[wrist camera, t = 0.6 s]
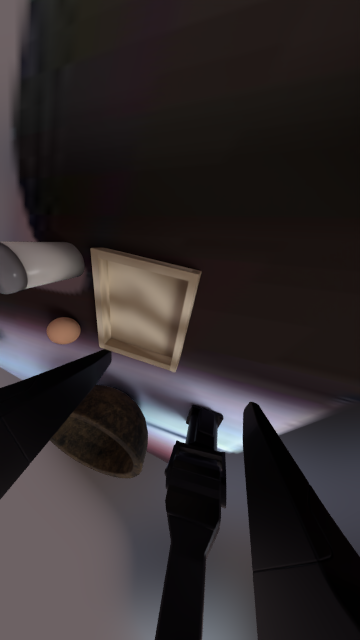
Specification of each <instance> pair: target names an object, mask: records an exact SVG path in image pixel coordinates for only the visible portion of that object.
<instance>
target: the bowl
mask: <svg viewBox="0 0 360 640" xmlns="http://www.w3.org/2000/svg"><path fill="white" fill-rule="evenodd" d="M50 441H51V442H52V443H53V444H54V445H56V446H57V447H58V448H59V449H61V450H62V451H63V452H64V453H65V454H67V455H68V456H70V457H71V458H73V459H74V460H76V461H78V462H79V463H81V464H83V465H85V466H87V467H89V468H91V469H93V470H96V471H98V472H100V473H103V474H106V475H110V476H113V477H119V478H133V477H135V476H137V475H139V474H140V472H141V470H142V466H143V462H144V458H145V454H146V450H147V444H148V431H147V426H146V421H145V417H144V415H143V413H142V411H141V410H140V408H139V406H138V405H137V404H136V403H135V402H134V400H133V399H131V398H130V397H129V396H128V395H126V394H125V393H123V392H122V391H119V390H117V389H115V388H112V387H109V386H104V385H95V386H94V387H93V389H92V390H91V391H90V392H89V393H88V395H87V396H86V397H85V398H84V399H83V401H82V402H81V403H80V404H79V405H78V407H77V408H76V409H75V410H74V411H73V413H72V414H71V415H70V416H69V417H68V419H67V420H66V421H65V422H64V423H63V425H62V426H61V427H60V428H59V429H58V431H57V432H56V433H55V434H54V435H53V437H52V438H51V439H50Z"/></svg>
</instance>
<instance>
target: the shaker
mask: <svg viewBox="0 0 360 640" xmlns="http://www.w3.org/2000/svg"><path fill="white" fill-rule="evenodd" d="M84 267H85V265H84V260H83V257H82V255H81V253H80V252H79V250H78V249H77V248H76V247H75V246H74V245H72V244H70V243H68V242H0V293H2V294H11V293H15V292H19V291H23V290H24V289H28V288H32V287H36V286H40V285H45V284H48V283H53V282H57V281H62V280H66V279H70V278H74V277H78V276H81V275H82V274H83V272H84Z"/></svg>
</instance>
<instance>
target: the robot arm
mask: <svg viewBox="0 0 360 640" xmlns="http://www.w3.org/2000/svg"><path fill="white" fill-rule="evenodd" d="M110 363H111V351H109V350H107V349H104V350H101V351H99V352H96V353H93V354H91V355H88V356H85V357H83V358H80V359H78V360H75V361H72V362H70V363H67V364H65V365H62V366H59V367H57V368H54V369H52V370H49V371H46V372H44V373H41V374H39V375H36V376H33V377H31V378H28V379H25V380H22V381H20V382H17V383H14V384H11V385H8V386H5V387H2V388H0V499H1V498H2V497H3V496H4V494H5V493H6V492H7V490H8V489H9V488H10V487H11V486H12V485H13V484H14V482H15V481H16V480H17V479H18V478H19V476H20V475H21V474H22V473H23V472H24V470H25V469H26V468H27V467H28V466H29V464H30V463H31V462H32V461H33V459H34V458H35V457H36V456H37V455H38V453H39V452H40V451H41V450H42V449H43V447H44V446H45V445H46V444H47V443H48V441H49V440H50V439H51V438H52V437H53V435H54V434H55V433H56V432H57V431H58V429H59V428H60V427H61V426H62V425H63V423H64V422H65V421H66V420H67V419H68V417H69V416H70V415H71V414H72V413H73V411H74V410H75V409H76V408H77V407H78V405H79V404H80V403H81V402H82V401H83V399H84V398H85V397H86V396H87V395H88V393H89V392H90V391H91V390H92V389H93V387H94V386H95V385H96V384H97V382H98V381H99V379H100V378H101V376H102V375H103V373H104V372H105V371H106V369H107V368H108V366H109V365H110ZM222 420H223V415H221V414H218V413H215V412H212V411H209V410H206V409H204V408H201V407H198V406H195V405H192V407H191V409H190V412H189V415H188V417H187V420H186V423H187V424H188V425H189V426H188V432H187V437H186V443H182V442H179V441H176V444H175V445H174V447H173V451H172V454H171V457H170V460H169V462H168V465H167V467H166V469H165V476H166V489H167V495H166V500H165V503H166V511H167V517H168V523H169V531H170V538H171V545H170V552H169V558H168V564H167V570H166V576H165V582H164V588H163V595H162V600H161V606H160V612H159V618H158V624H157V630H156V636H155V640H202V632H203V612H204V592H205V572H206V559H207V557H208V555H209V552H210V550H211V548H212V546H213V543H214V541H215V539H216V537H217V534H218V532H219V529H220V521H221V520H220V519H221V507H223V508H226V462H225V452H219V451H217V429H218V427H219V425H220V424H221V422H222ZM243 452H244V464H245V477H246V491H247V504H248V516H249V529H250V542H251V554H252V568H253V582H254V595H255V607H256V621H257V633H258V640H360V557H359V555H358V554H357V553H356V551H355V550H354V548H353V547H352V545H351V544H350V543H349V541H348V540H347V538H346V537H345V536H344V534H343V533H342V531H341V530H340V528H339V527H338V526H337V524H336V523H335V521H334V520H333V518H332V517H331V516H330V514H329V513H328V511H327V510H326V508H325V507H324V505H323V504H322V502H321V501H320V499H319V498H318V496H317V494H316V493H315V491H314V490H313V488H312V487H311V486H310V485H309V482H308V481H307V479H306V478H305V476H304V474H303V473H302V471H301V470H300V468H299V467H298V465H297V464H296V462H295V461H294V459H293V458H292V456H291V455H290V453H289V451H288V450H287V448H286V447H285V445H284V444H283V442H282V440H281V439H280V437H279V436H278V434H277V433H276V431H275V430H274V428H273V427H272V425H271V423H270V422H269V420H268V419H267V417H266V416H265V414H264V413H263V411H262V410H261V408H260V406H259V405H258V404H256V403H254V402H249V404H248V405H247V406H246V408H245V409H244V412H243Z"/></svg>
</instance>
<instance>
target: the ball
mask: <svg viewBox="0 0 360 640" xmlns="http://www.w3.org/2000/svg"><path fill="white" fill-rule="evenodd" d="M80 331H81V329H80V325H79V324H78V323H77V322H76V321H75V320H74V319H71V318H68V317H61V318H57V319H55V320H53V321H52V322H51V323H50V324H49V325H48V327H47V335H48V337H49V339H50V340H51V341H53V342H55V343H57V344H69V343H71V342H73V341H75V340H76V339H77V338H78V337H79V335H80Z"/></svg>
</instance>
